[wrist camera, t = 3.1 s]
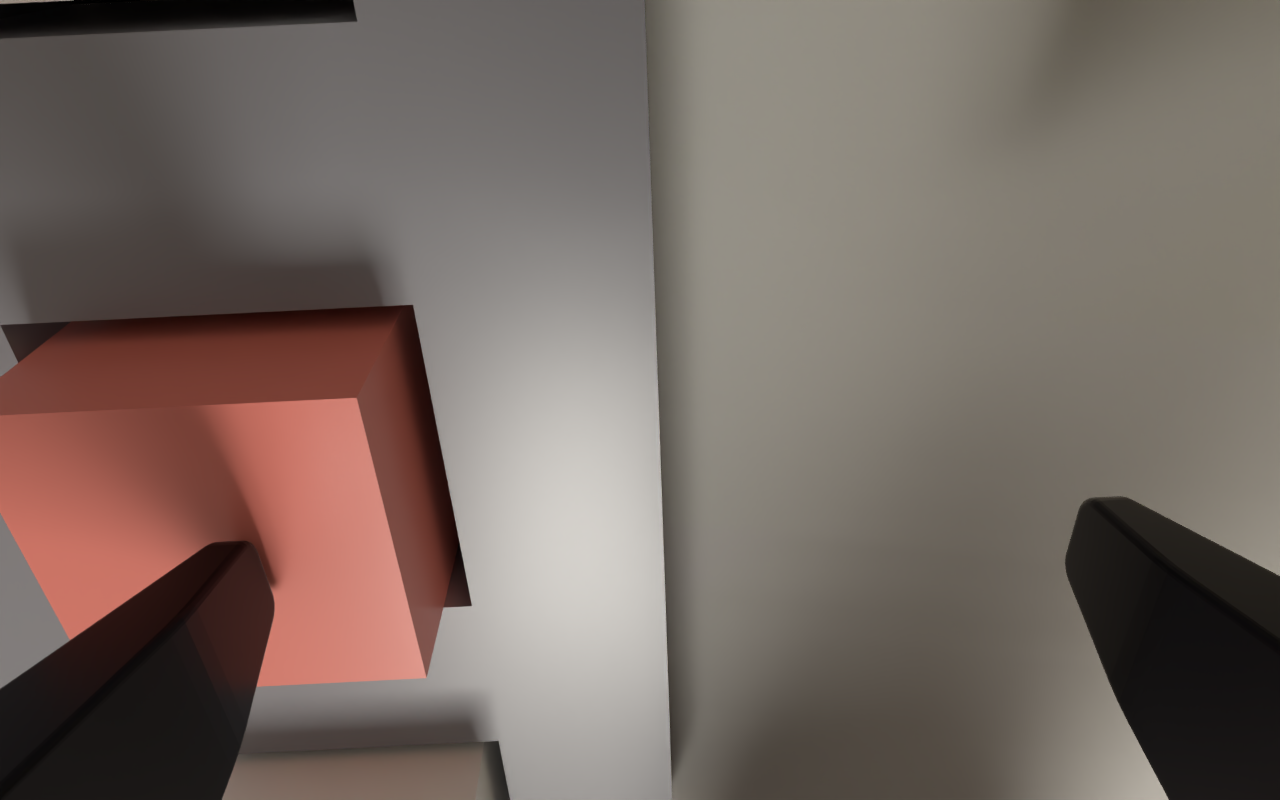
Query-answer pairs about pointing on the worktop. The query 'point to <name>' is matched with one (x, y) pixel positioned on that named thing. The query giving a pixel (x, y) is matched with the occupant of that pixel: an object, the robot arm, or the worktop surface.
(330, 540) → the red button
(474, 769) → the button
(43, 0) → the button
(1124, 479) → the worktop surface
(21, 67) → the button panel
